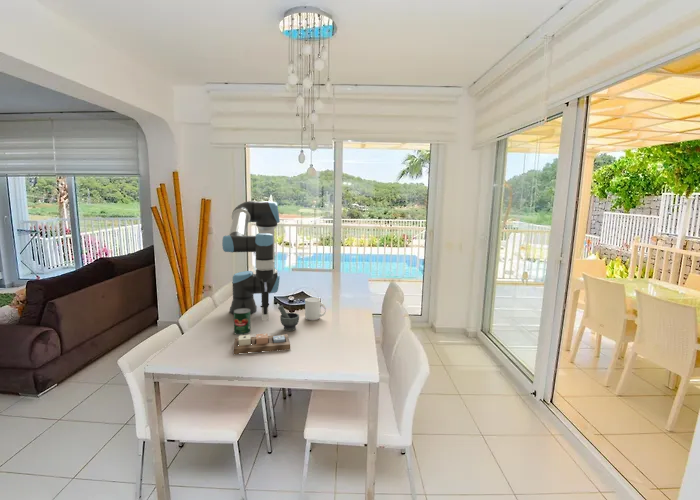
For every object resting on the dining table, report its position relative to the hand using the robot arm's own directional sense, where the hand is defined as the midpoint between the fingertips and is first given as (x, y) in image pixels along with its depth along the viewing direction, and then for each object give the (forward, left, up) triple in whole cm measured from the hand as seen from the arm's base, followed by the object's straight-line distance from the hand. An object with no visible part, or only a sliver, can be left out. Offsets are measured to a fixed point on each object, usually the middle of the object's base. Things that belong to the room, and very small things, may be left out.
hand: (265, 320), depth 157 cm
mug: (-3, +43, -12) cm, 45 cm away
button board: (-1, -1, -12) cm, 12 cm away
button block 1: (-6, -6, -10) cm, 13 cm away
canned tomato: (-21, +7, -12) cm, 26 cm away
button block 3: (+4, +4, -12) cm, 13 cm away
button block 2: (-1, -1, -10) cm, 10 cm away
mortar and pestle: (-5, +23, -12) cm, 26 cm away
